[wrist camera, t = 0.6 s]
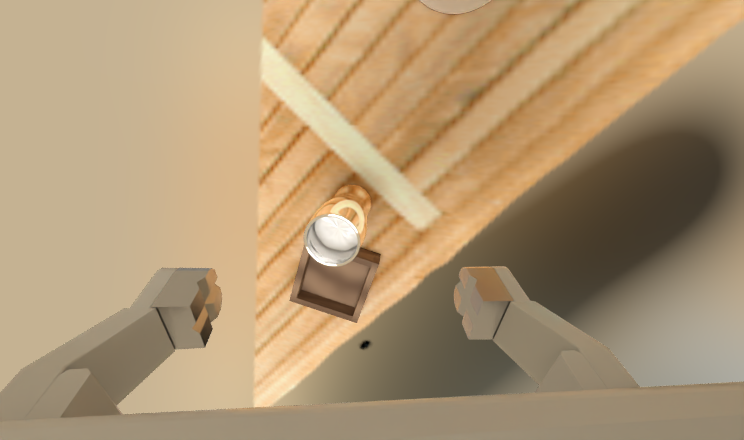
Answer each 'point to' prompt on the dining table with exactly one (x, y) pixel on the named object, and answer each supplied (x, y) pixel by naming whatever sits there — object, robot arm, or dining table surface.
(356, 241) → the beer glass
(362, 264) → the walnut tray
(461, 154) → the dining table surface
